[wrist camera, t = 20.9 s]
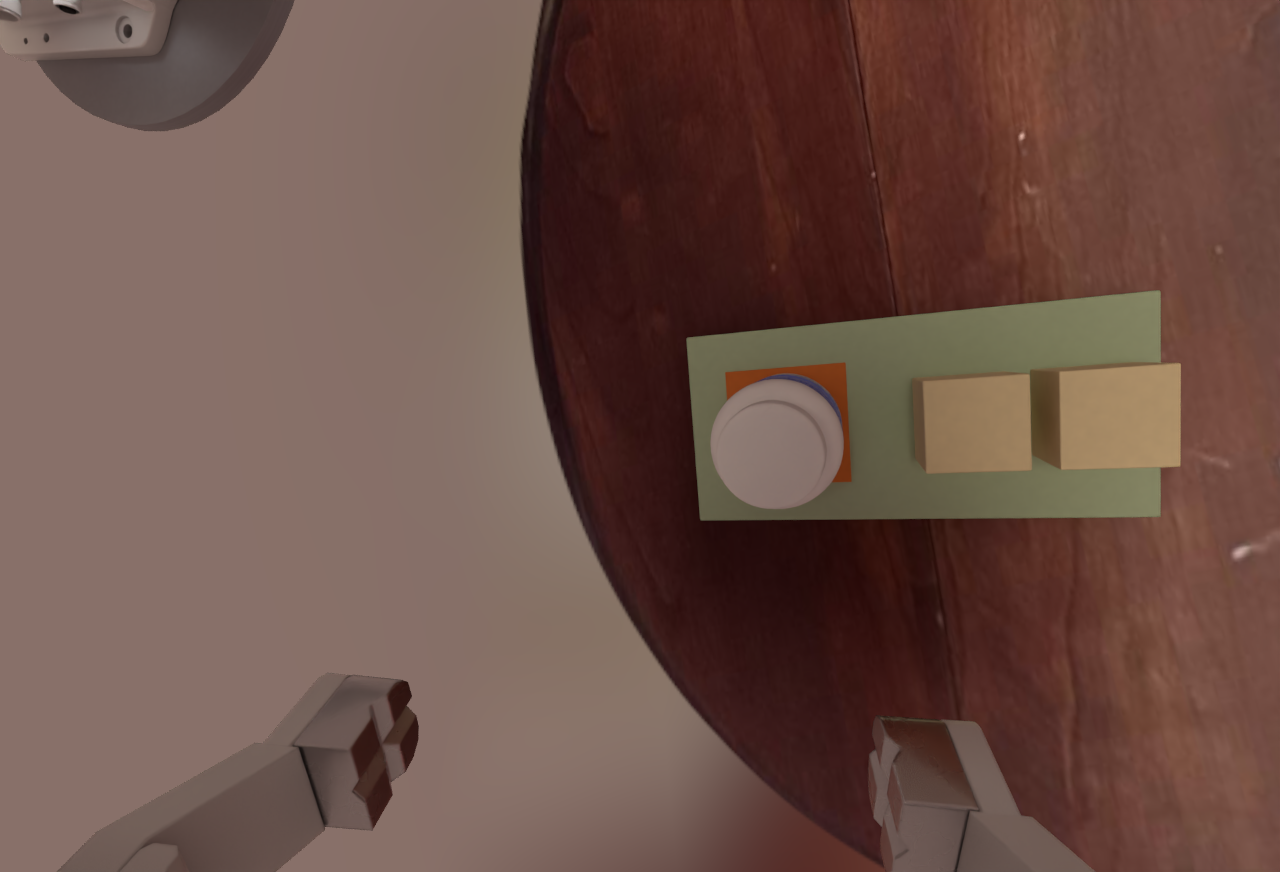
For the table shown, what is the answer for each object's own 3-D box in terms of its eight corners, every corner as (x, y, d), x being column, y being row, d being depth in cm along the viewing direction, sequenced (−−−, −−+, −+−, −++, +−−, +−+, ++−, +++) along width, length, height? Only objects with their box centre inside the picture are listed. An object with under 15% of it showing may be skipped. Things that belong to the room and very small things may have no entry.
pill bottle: (746, 363, 32) (710, 366, 23) (854, 385, 31) (861, 398, 22) (724, 464, 33) (681, 506, 24) (828, 489, 32) (824, 545, 23)
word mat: (703, 516, 35) (682, 541, 30) (690, 338, 34) (666, 335, 29) (1151, 512, 29) (1212, 543, 24) (1150, 292, 28) (1215, 278, 23)
